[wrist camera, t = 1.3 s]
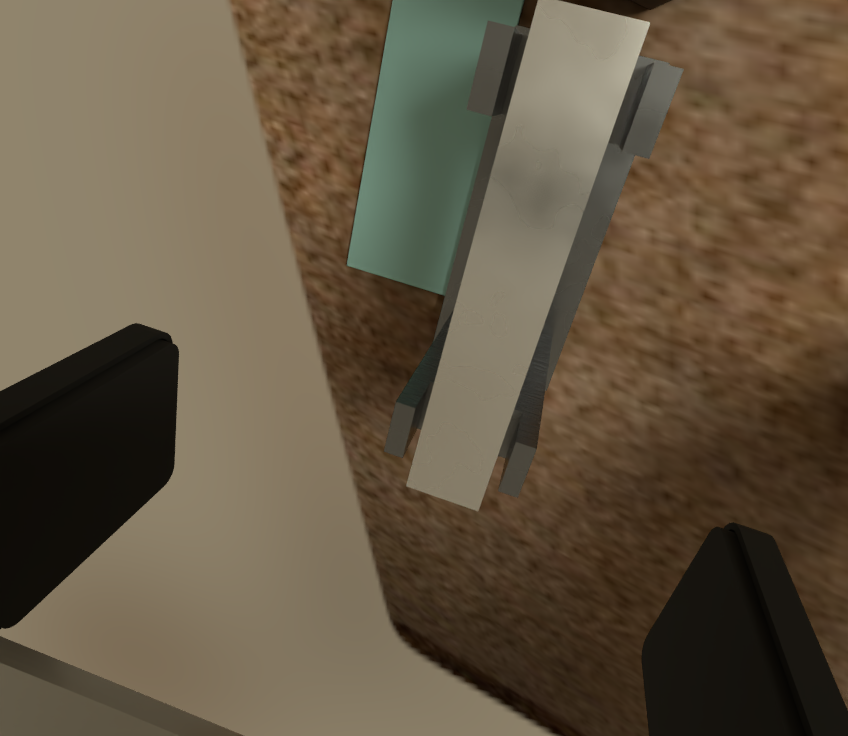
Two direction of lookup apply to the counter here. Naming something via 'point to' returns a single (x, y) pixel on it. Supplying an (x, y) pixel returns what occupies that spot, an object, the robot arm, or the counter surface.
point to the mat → (423, 140)
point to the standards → (627, 139)
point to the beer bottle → (650, 3)
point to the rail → (523, 238)
